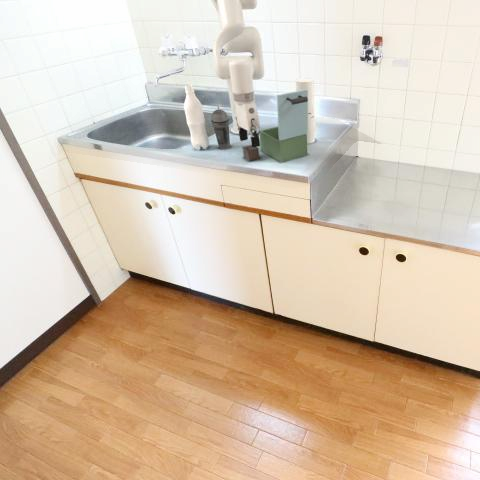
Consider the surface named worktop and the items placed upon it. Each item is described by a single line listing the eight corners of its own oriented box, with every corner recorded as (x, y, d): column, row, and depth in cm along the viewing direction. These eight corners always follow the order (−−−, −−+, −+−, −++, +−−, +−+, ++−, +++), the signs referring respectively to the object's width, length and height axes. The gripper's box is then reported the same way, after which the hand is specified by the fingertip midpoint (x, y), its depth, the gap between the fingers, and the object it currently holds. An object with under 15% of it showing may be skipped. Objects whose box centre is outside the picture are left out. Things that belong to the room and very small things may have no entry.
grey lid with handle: (276, 95, 129) (285, 99, 126) (306, 89, 135) (315, 93, 132) (278, 140, 140) (286, 145, 136) (306, 132, 146) (314, 137, 142)
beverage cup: (231, 143, 162) (224, 95, 151) (234, 148, 157) (227, 99, 145) (214, 145, 160) (206, 97, 149) (217, 151, 155) (208, 101, 143)
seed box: (261, 150, 155) (259, 130, 150) (286, 143, 161) (285, 124, 156) (281, 162, 144) (279, 141, 140) (307, 154, 150) (306, 134, 146)
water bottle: (207, 150, 155) (195, 87, 141) (190, 151, 156) (176, 88, 141) (211, 144, 161) (200, 83, 147) (195, 144, 161) (182, 83, 147)
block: (244, 157, 149) (242, 147, 146) (254, 155, 151) (252, 144, 148) (249, 161, 146) (247, 150, 143) (259, 158, 148) (258, 147, 145)
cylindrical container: (296, 139, 165) (292, 79, 150) (310, 136, 167) (308, 77, 153) (303, 144, 160) (300, 82, 145) (317, 141, 162) (316, 80, 148)
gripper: (264, 99, 131) (269, 147, 140) (242, 91, 142) (248, 135, 152) (245, 103, 127) (251, 151, 136) (224, 94, 139) (231, 139, 148)
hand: (249, 143), depth 144 cm, fingers open, 9 cm apart
